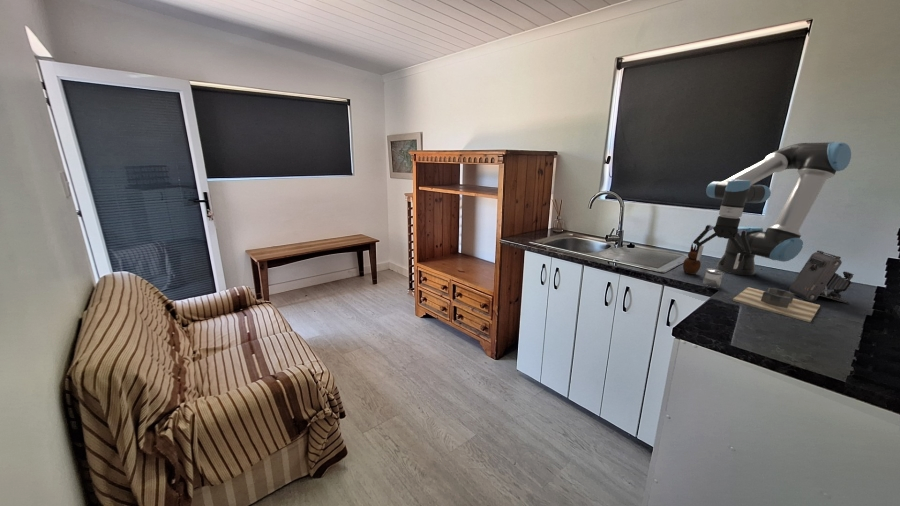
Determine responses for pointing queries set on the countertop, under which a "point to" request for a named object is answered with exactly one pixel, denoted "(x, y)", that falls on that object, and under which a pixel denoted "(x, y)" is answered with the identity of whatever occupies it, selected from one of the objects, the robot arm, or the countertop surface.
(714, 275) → the glass jar
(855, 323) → the countertop surface
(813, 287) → the camera
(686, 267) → the wooden figurine
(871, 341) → the countertop surface
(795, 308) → the mount board
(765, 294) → the dark grey faceted bowl
